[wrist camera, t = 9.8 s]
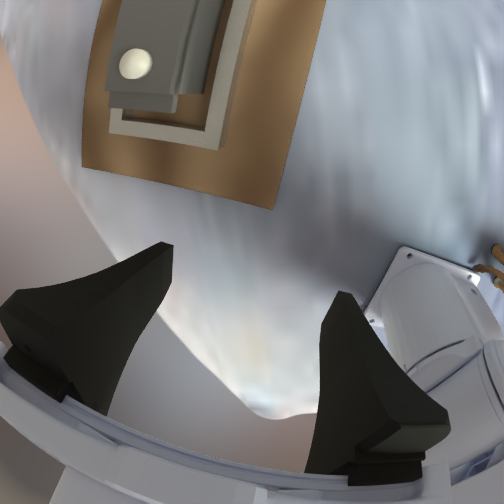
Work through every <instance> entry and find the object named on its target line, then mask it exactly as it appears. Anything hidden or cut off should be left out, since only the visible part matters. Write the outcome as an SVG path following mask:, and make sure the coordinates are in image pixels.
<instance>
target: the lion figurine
mask: <svg viewBox="0 0 504 504" xmlns="http://www.w3.org/2000/svg"><path fill="white" fill-rule="evenodd" d="M492 255H493V256H494V257H495V258H496V259H497V260H499V262H500V263H501V264H503V265H504V254H503V253H502V248H501V246H500V245H495V246H494V247H493V249H492ZM472 270H473V271H474V272H481V273H484V272H489V273H492V274H494V275H496V276H497V278H496V279H495V280H494V286H495V287H496V288H500V289H501V290H502V291H503V293H504V274H503V273H502V272H501V271H499V270H497V269H495V268H493V267H488V266H484V265H481V264H478V265H475V266H473V269H472Z"/></svg>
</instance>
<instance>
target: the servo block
mask: <svg viewBox="0 0 504 504" xmlns="http://www.w3.org/2000/svg"><path fill="white" fill-rule="evenodd" d="M225 1H226V0H123V1H122V4H121V8H120V11H119V15H118V19H117V23H116V28H115V32H114V37H113V42H112V47H111V52H110V57H109V63H108V69H107V76H106V83H105V91H110V94H109V103H108V108H118V109H132V110H143V111H153V112H162V113H176V108H177V101H178V95H179V94H204V90H205V85H206V80H207V75H208V71H209V66H210V61H211V57H212V52H213V48H214V44H215V39H216V35H217V31H218V27H219V23H220V19H221V15H222V12H223V8H224V4H225Z"/></svg>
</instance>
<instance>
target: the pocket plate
mask: <svg viewBox="0 0 504 504" xmlns="http://www.w3.org/2000/svg"><path fill="white" fill-rule="evenodd" d="M122 1H123V0H103V2H102V5H101V9H100V13H99V17H98V21H97V25H96V29H95V34H94V39H93V44H92V49H91V55H90V61H89V67H88V74H87V81H86V90H85V100H84V112H83V128H82V167H85V168H90V169H95V170H101V171H106V172H111V173H116V174H121V175H126V176H131V177H136V178H141V179H146V180H150V181H155V182H160V183H164V184H169V185H173V186H178V187H182V188H186V189H191V190H195V191H199V192H203V193H207V194H212V195H216V196H220V197H224V198H228V199H232V200H236V201H240V202H244V203H247V204H251V205H255V206H259V207H263V208H266V209H270V210H273V207H274V204H275V200H276V196H277V193H278V189H279V185H280V181H281V177H282V174H283V170H284V166H285V162H286V158H287V154H288V151H289V147H290V143H291V139H292V135H293V131H294V127H295V124H296V120H297V116H298V112H299V108H300V104H301V100H302V96H303V92H304V88H305V84H306V81H307V77H308V73H309V69H310V65H311V61H312V57H313V53H314V49H315V45H316V41H317V37H318V32H319V28H320V24H321V20H322V16H323V12H324V8H325V4H326V0H226V1H225V4H224V8H223V12H222V15H221V19H220V23H219V27H218V31H217V35H216V39H215V44H214V48H213V52H212V57H211V61H210V66H209V71H208V75H207V80H206V85H205V90H204V94H179V95H178V101H177V108H176V113H162V112H153V111H143V110H132V109H118V108H108V103H109V94H110V91H105V83H106V76H107V69H108V63H109V57H110V52H111V47H112V42H113V37H114V32H115V28H116V23H117V19H118V15H119V11H120V8H121V4H122Z"/></svg>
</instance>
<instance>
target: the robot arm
mask: <svg viewBox="0 0 504 504" xmlns="http://www.w3.org/2000/svg"><path fill="white" fill-rule="evenodd" d="M173 247H174V245H171V244H167V243H164V242H159V243H157V244H155V245H153V246H151V247H149V248H147V249H145V250H143V251H141V252H139V253H137V254H135V255H134V256H132V257H130V258H128V259H126V260H124V261H121V262H119V263H117V264H115V265H113V266H111V267H109V268H107V269H104V270H102V271H99V272H97V273H94V274H91V275H88V276H86V277H83V278H79V279H76V280H72V281H69V282H65V283H61V284H56V285H51V286H45V287H39V288H30V289H19V290H16V291H15V292H14V293H13V294H12V295H11V296H10V297H9V298H8V299H7V301H5V302H4V304H3V305H2V306H1V307H0V322H1V324H2V326H3V328H4V330H5V332H6V334H7V335H8V337H9V339H10V341H11V343H12V344H13V346H12V347H11V348H10V349H8V348H7V347H6V346H5V345H4V344H3V343H2V342H1V341H0V416H1V417H2V418H4V419H5V420H6V421H7V422H8V423H9V424H10V425H12V426H13V427H14V428H15V429H16V430H17V431H19V432H20V433H21V434H22V435H24V436H25V437H26V438H27V439H29V440H30V441H32V442H33V443H34V444H35V445H37V446H38V447H39V448H41V449H42V450H44V451H45V452H46V453H48V454H49V455H51V456H52V457H54V458H55V459H57V460H58V461H60V462H61V463H63V464H64V465H66V468H65V470H64V472H63V474H62V476H61V478H60V481H59V483H58V485H57V487H56V490H55V492H54V494H53V496H52V499H51V501H50V503H49V504H504V340H503V336H502V331H501V328H500V326H499V324H498V322H497V320H496V318H495V317H494V315H493V313H492V311H491V310H490V308H489V306H488V305H487V303H486V301H485V300H484V298H483V296H482V295H481V293H480V291H479V290H478V288H477V287H476V285H477V283H478V282H479V280H480V275H479V274H478V273H476V272H474V271H471V270H469V269H466V268H464V267H461V266H458V265H456V264H453V263H450V262H448V261H445V260H442V259H440V258H437V257H434V256H431V255H428V254H426V253H423V252H420V251H417V250H414V249H411V248H409V247H405V246H404V247H401V248H400V249H399V250H398V252H397V254H396V256H395V258H394V260H393V262H392V263H391V265H390V267H389V269H388V271H387V273H386V275H385V277H384V279H383V280H382V282H381V284H380V286H379V288H378V289H377V291H376V293H375V295H374V296H373V298H372V300H371V302H370V303H369V305H368V307H367V308H366V310H365V312H364V313H363V312H362V310H361V309H360V307H359V305H358V303H357V302H356V300H355V298H354V297H353V295H352V294H350V293H346V292H342V291H338V293H337V295H336V297H335V299H334V301H333V303H332V305H331V307H330V308H329V310H328V312H327V314H326V316H325V318H324V320H323V322H322V324H321V333H320V343H319V353H320V396H319V404H318V412H317V418H316V424H315V430H314V435H313V440H312V444H311V449H310V453H309V457H308V461H307V465H306V468H305V471H304V473H297V472H289V471H281V470H275V469H269V468H263V467H257V466H252V465H247V464H242V463H237V462H233V461H228V460H224V459H220V458H216V457H213V456H209V455H205V454H202V453H198V452H195V451H192V450H188V449H185V448H182V447H179V446H176V445H173V444H170V443H167V442H165V441H162V440H159V439H156V438H154V437H152V436H149V435H146V434H144V433H142V432H139V431H137V430H134V429H132V428H130V427H128V426H125V425H123V424H121V423H119V422H116V421H114V420H112V419H110V418H108V417H107V413H108V410H109V407H110V404H111V401H112V398H113V395H114V392H115V389H116V387H117V384H118V382H119V379H120V376H121V374H122V372H123V369H124V367H125V365H126V362H127V360H128V358H129V356H130V354H131V352H132V349H133V347H134V345H135V343H136V342H137V340H138V338H139V336H140V335H141V333H142V332H143V330H144V329H145V327H146V325H147V324H148V322H149V321H150V319H151V318H152V316H153V315H154V313H155V312H156V310H157V309H158V307H159V306H160V304H161V303H162V301H163V299H164V297H165V295H166V293H167V291H168V289H169V287H170V285H171V283H172V264H173ZM409 253H411V255H410V256H407V255H408V254H409ZM468 275H469V276H468ZM371 319H373V320H371ZM371 325H373V326H378V327H383V328H384V329H385V333H386V338H387V342H388V347H389V352H390V354H389V352H388V351H387V350H386V348H385V347H384V345H383V344H382V342H381V341H380V339H379V338H378V336H377V335H376V333H375V332H374V330H373V329H372V327H371ZM115 443H116V444H118V445H120V446H119V447H117V446H116V444H115ZM266 489H269V490H276V492H269V491H267V490H266Z"/></svg>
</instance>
